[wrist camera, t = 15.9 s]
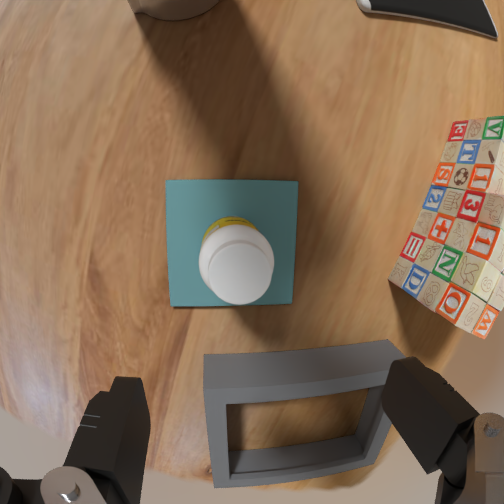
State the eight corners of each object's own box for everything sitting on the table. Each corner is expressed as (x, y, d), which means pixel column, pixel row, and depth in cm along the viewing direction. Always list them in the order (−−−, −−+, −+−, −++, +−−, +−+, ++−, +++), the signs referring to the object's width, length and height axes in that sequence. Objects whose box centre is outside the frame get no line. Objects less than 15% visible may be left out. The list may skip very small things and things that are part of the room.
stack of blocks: (451, 120, 29) (528, 112, 17) (479, 148, 30) (552, 150, 18) (386, 280, 32) (455, 327, 21) (420, 297, 34) (486, 342, 22)
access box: (212, 455, 36) (214, 488, 30) (203, 354, 32) (203, 388, 26) (359, 437, 39) (373, 463, 33) (387, 339, 34) (412, 364, 29)
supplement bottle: (272, 237, 29) (300, 266, 19) (237, 283, 29) (248, 331, 20) (225, 202, 28) (231, 214, 18) (190, 250, 28) (178, 286, 19)
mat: (171, 303, 30) (170, 306, 29) (166, 180, 27) (165, 180, 26) (290, 301, 31) (291, 303, 31) (296, 181, 28) (298, 181, 28)
